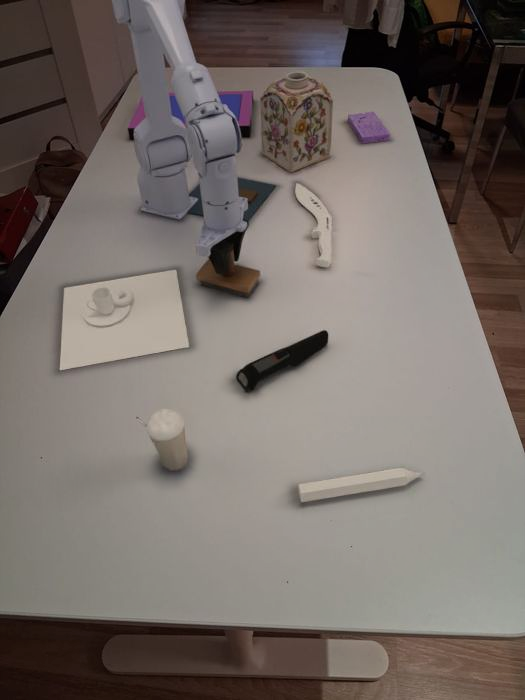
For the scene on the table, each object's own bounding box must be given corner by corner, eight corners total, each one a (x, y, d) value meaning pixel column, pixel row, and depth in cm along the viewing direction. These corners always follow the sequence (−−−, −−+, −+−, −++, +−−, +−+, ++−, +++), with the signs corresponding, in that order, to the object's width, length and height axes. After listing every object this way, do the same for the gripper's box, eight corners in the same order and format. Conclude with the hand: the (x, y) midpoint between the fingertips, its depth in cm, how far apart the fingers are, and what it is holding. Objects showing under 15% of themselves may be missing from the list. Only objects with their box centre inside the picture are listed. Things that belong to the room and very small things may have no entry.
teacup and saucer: (134, 291, 94) (129, 273, 91) (136, 322, 89) (131, 303, 86) (83, 300, 93) (76, 281, 90) (83, 331, 88) (75, 313, 85)
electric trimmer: (333, 352, 83) (334, 337, 81) (247, 395, 78) (246, 380, 75) (318, 337, 85) (320, 323, 83) (234, 378, 80) (233, 364, 78)
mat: (175, 210, 112) (174, 208, 111) (210, 173, 121) (210, 171, 121) (244, 226, 107) (244, 224, 106) (276, 186, 116) (276, 184, 116)
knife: (295, 179, 117) (331, 179, 116) (295, 186, 118) (331, 186, 117) (288, 260, 96) (332, 261, 95) (288, 268, 97) (331, 268, 96)
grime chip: (232, 200, 112) (232, 197, 112) (241, 191, 115) (240, 187, 114) (250, 204, 111) (250, 201, 111) (258, 194, 114) (257, 191, 113)
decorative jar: (331, 158, 124) (336, 76, 111) (290, 174, 120) (291, 91, 107) (299, 139, 131) (301, 60, 118) (260, 154, 127) (257, 73, 113)
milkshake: (152, 447, 72) (137, 402, 65) (192, 444, 72) (182, 398, 65) (150, 477, 69) (134, 433, 62) (192, 473, 69) (181, 429, 62)
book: (249, 125, 130) (127, 128, 132) (250, 137, 133) (130, 140, 134) (253, 90, 145) (142, 93, 146) (253, 101, 147) (145, 104, 148)
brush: (197, 285, 95) (191, 250, 89) (210, 269, 98) (206, 234, 92) (248, 299, 92) (246, 264, 86) (260, 282, 95) (259, 246, 89)
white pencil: (423, 481, 68) (299, 501, 67) (419, 464, 69) (296, 484, 67) (430, 481, 66) (302, 502, 64) (426, 463, 66) (299, 484, 65)
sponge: (373, 118, 137) (374, 111, 136) (389, 140, 129) (390, 133, 127) (346, 121, 137) (347, 114, 135) (361, 144, 128) (362, 136, 127)
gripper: (221, 226, 76) (229, 298, 86) (263, 177, 85) (265, 247, 95) (178, 216, 78) (191, 287, 88) (223, 169, 87) (230, 239, 97)
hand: (227, 266), depth 92 cm, fingers open, 3 cm apart
